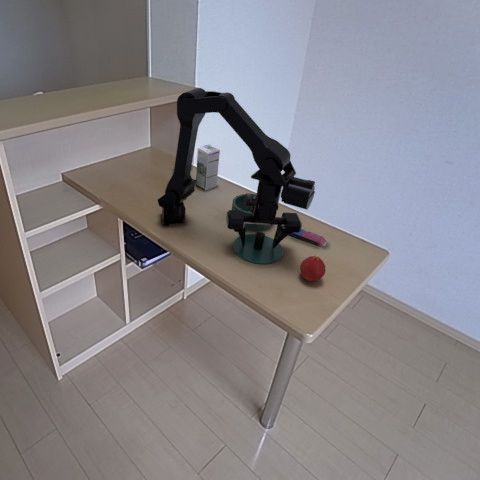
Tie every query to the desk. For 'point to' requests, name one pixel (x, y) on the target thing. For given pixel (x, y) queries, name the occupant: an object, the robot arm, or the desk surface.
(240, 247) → the lid
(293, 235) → the eraser
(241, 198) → the pot
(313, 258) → the onion
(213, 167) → the syrup box
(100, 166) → the desk surface
